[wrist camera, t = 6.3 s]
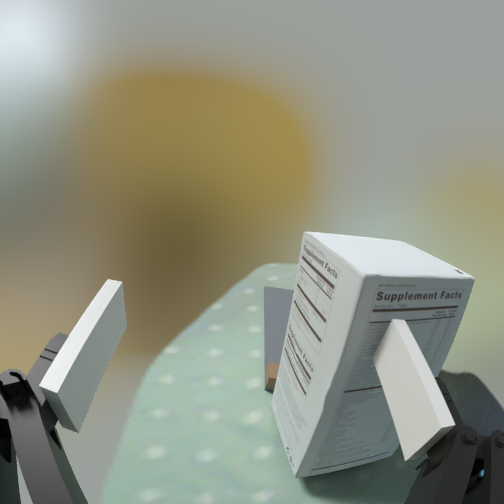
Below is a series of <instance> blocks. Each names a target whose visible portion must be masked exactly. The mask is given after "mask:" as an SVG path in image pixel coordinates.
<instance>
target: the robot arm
mask: <svg viewBox="0 0 504 504" xmlns="http://www.w3.org/2000/svg"><path fill="white" fill-rule="evenodd" d="M126 327H127V324H126V316H125V306H124V296H123V285H122V282H119V281H114V280H109V279H108V280H107V281H106V282H105V284H104V285H103V287H102V288H101V290H100V291H99V292H98V294H97V295H96V296H95V298H94V300H93V301H92V302H91V304H90V305H89V307H88V308H87V309H86V311H85V313H84V314H83V316H82V317H81V319H80V320H79V321H78V323H77V324H76V326H75V328H74V329H73V330H72V332H71V334H70V335H66V334H62V333H58V334H57V335H56V336H54V337H53V338H52V339H50V341H49V342H48V344H47V345H46V347H45V350H43V351H42V353H41V354H40V357H38V359H37V360H36V362H35V364H34V365H33V367H32V368H31V370H30V371H29V373H28V375H27V376H25V375H24V373H22V372H21V371H20V370H17V369H9V370H6V371H4V372H2V373H1V374H0V504H21V501H20V493H19V484H18V474H17V460H16V454H17V458H18V460H19V464H20V468H21V471H22V474H23V477H24V480H25V483H26V486H27V489H28V491H29V494H30V497H31V499H32V502H33V504H88V502H87V500H86V498H85V496H84V494H83V492H82V490H81V488H80V486H79V484H78V482H77V480H76V478H75V475H74V473H73V471H72V468H71V466H70V464H69V461H68V459H67V456H66V454H65V451H64V449H63V446H62V444H61V441H60V438H59V436H58V433H57V430H56V428H55V425H56V423H57V421H58V420H59V422H60V424H61V426H62V427H64V428H66V429H69V430H72V431H74V432H77V433H79V431H80V429H81V426H82V423H83V421H84V419H85V417H86V414H87V412H88V409H89V407H90V405H91V402H92V400H93V397H94V395H95V393H96V391H97V389H98V386H99V384H100V382H101V380H102V377H103V375H104V373H105V371H106V369H107V366H108V364H109V362H110V360H111V358H112V356H113V354H114V352H115V349H116V347H117V345H118V343H119V341H120V339H121V337H122V335H123V333H124V331H125V329H126ZM372 358H373V361H374V364H375V367H376V370H377V373H378V375H379V378H380V381H381V384H382V387H383V390H384V393H385V396H386V399H387V402H388V405H389V408H390V411H391V415H392V418H393V421H394V424H395V428H396V431H397V434H398V438H399V441H400V444H401V448H402V451H403V455H404V458H405V461H410V460H415V459H419V458H420V457H422V456H423V455H424V454H425V453H426V452H427V454H428V458H427V459H425V460H424V461H423V462H422V463H421V464H419V465H418V466H417V467H416V469H415V470H418V469H419V468H420V467H422V468H421V470H420V471H419V472H420V473H419V475H418V477H417V479H416V481H415V483H414V485H413V487H412V489H411V491H410V493H409V495H408V497H407V499H406V501H405V503H404V504H504V432H502V431H500V430H496V431H494V432H493V433H492V434H490V435H489V436H488V437H487V436H478V435H477V433H476V432H475V430H473V429H472V428H471V427H468V426H464V425H463V423H462V420H461V418H460V416H459V413H458V411H457V409H456V407H455V405H454V402H452V398H451V396H450V395H449V392H448V390H447V388H446V386H445V384H444V383H443V382H442V381H441V380H440V378H439V377H434V376H433V374H432V372H431V370H430V368H429V366H428V364H427V362H426V360H425V358H424V356H423V354H422V352H421V350H420V348H419V346H418V344H417V342H416V340H415V339H414V337H413V335H412V333H411V331H410V329H409V327H408V326H407V324H406V322H405V320H399V319H392V321H391V323H390V325H389V327H388V329H387V331H386V333H385V334H384V336H383V338H382V340H381V342H380V344H379V346H378V348H377V349H376V351H375V353H374V355H373V357H372ZM483 470H484V475H483V476H481V471H483Z"/></svg>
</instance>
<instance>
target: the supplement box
mask: <svg viewBox="0 0 504 504" xmlns="http://www.w3.org/2000/svg"><path fill="white" fill-rule="evenodd" d="M473 284H474V278H473V277H472V276H470V275H468V274H467V273H465V272H463V271H461V270H459V269H458V268H456V267H454V266H452V265H450V264H448V263H446V262H444V261H442V260H440V259H438V258H436V257H433V256H432V255H429V254H428V253H425V252H423V251H421V250H419V249H417V248H415V247H413V246H411V245H409V244H407V243H404V242H401V241H394V240H386V239H377V238H368V237H358V236H349V235H339V234H328V233H317V232H304V235H303V241H302V248H301V253H300V259H299V265H298V270H297V276H296V282H295V288H294V293H293V299H292V304H291V310H290V315H289V320H288V325H287V331H286V336H285V341H284V346H283V350H282V355H281V360H280V365H279V370H278V375H277V380H276V384H275V389H274V393H273V397H272V402H271V408H272V411H273V414H274V417H275V420H276V424H277V427H278V430H279V433H280V436H281V439H282V442H283V445H284V448H285V451H286V454H287V457H288V460H289V463H290V465H291V468H292V471H293V474H294V477H296V478H300V477H307V476H312V475H318V474H323V473H328V472H333V471H338V470H342V469H346V468H350V467H354V466H358V465H362V464H366V463H370V462H373V461H377V460H380V459H383V458H386V457H390V456H392V455H393V454H394V452H395V451H396V449H397V448H398V446H399V445H400V441H399V438H398V434H397V431H396V428H395V424H394V421H393V418H392V415H391V411H390V408H389V405H388V402H387V399H386V396H385V393H384V390H383V387H382V384H381V381H380V378H379V375H378V373H377V370H376V367H375V364H374V361H373V358H372V357H373V355H374V353H375V351H376V349H377V348H378V346H379V344H380V342H381V340H382V338H383V336H384V334H385V333H386V331H387V329H388V327H389V325H390V323H391V321H392V319H399V320H405V322H406V324H407V326H408V327H409V329H410V331H411V333H412V335H413V337H414V339H415V340H416V342H417V344H418V346H419V348H420V350H421V352H422V354H423V356H424V358H425V360H426V362H427V364H428V366H429V368H430V370H431V372H432V374H433V376H434V377H437V376H438V374H439V372H440V370H441V368H442V366H443V364H444V361H445V359H446V357H447V354H448V352H449V350H450V348H451V345H452V343H453V341H454V338H455V335H456V333H457V330H458V328H459V325H460V322H461V320H462V317H463V314H464V311H465V308H466V306H467V303H468V300H469V297H470V293H471V290H472V287H473Z"/></svg>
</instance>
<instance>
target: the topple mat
mask: <svg viewBox="0 0 504 504" xmlns="http://www.w3.org/2000/svg"><path fill="white" fill-rule="evenodd" d="M293 293H294V290H288V289H281V288H273V287H267V286H265V288H264V318H265V390H272V391H274V389H275V384H276V380H277V375H278V370H279V365H280V360H281V355H282V350H283V346H284V341H285V336H286V331H287V325H288V320H289V315H290V310H291V304H292V299H293Z"/></svg>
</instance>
